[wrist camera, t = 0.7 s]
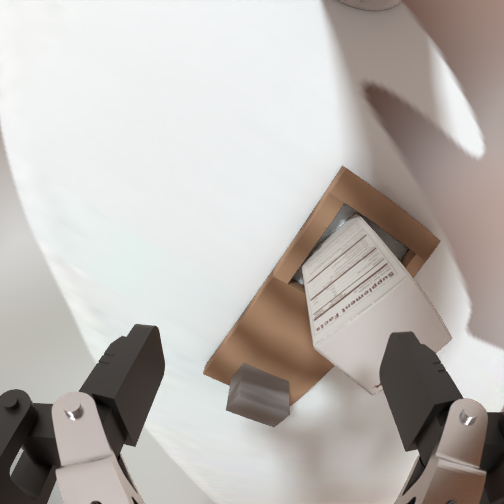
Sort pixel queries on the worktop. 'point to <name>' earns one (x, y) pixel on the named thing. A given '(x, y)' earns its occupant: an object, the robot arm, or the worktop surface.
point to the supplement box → (364, 302)
